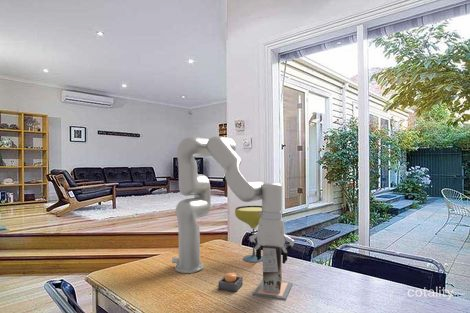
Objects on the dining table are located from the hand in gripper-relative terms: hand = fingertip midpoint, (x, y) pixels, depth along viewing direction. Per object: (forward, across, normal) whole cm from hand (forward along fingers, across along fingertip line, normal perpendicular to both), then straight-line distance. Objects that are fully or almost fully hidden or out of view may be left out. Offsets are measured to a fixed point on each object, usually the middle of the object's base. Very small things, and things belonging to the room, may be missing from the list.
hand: (271, 260), depth 113 cm
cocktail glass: (+12, -16, +32) cm, 37 cm away
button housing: (+11, -15, -3) cm, 19 cm away
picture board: (+11, +1, 0) cm, 11 cm away
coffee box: (+10, +1, 0) cm, 10 cm away
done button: (+9, -15, -3) cm, 18 cm away
